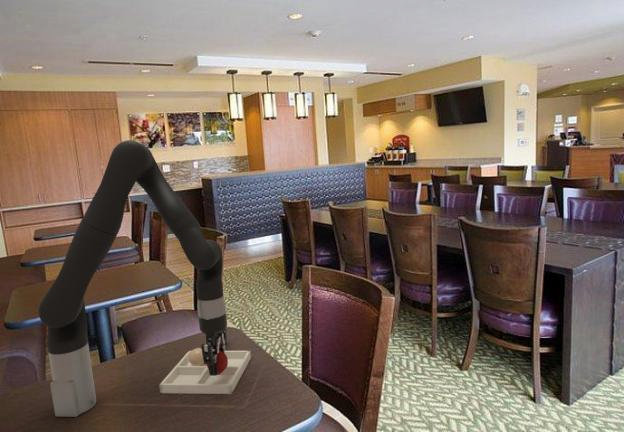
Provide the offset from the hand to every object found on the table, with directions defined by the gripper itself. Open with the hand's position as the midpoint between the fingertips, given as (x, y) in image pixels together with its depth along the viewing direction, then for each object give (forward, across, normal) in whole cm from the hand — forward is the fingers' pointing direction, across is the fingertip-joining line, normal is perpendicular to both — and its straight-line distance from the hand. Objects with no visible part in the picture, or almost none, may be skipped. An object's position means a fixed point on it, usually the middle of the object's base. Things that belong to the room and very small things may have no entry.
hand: (217, 368), depth 121 cm
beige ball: (+4, -10, -10) cm, 14 cm away
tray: (+5, -5, -5) cm, 9 cm away
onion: (+2, 0, 0) cm, 2 cm away
